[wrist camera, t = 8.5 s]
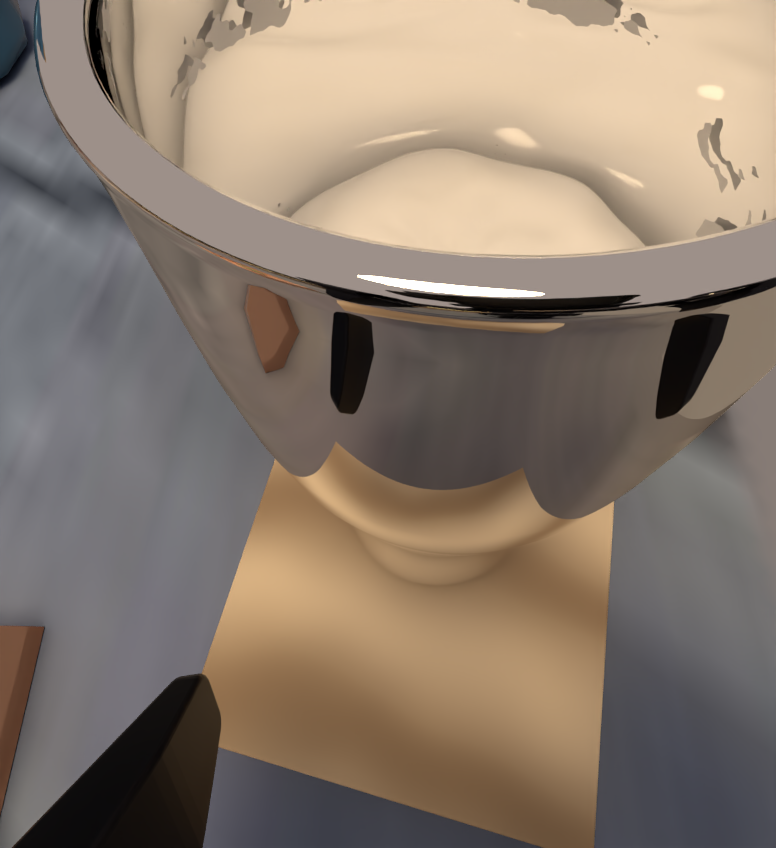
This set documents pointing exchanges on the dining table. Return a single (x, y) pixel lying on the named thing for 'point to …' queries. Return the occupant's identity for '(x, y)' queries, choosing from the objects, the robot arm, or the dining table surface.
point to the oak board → (420, 671)
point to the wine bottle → (10, 35)
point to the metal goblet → (445, 237)
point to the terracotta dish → (14, 689)
